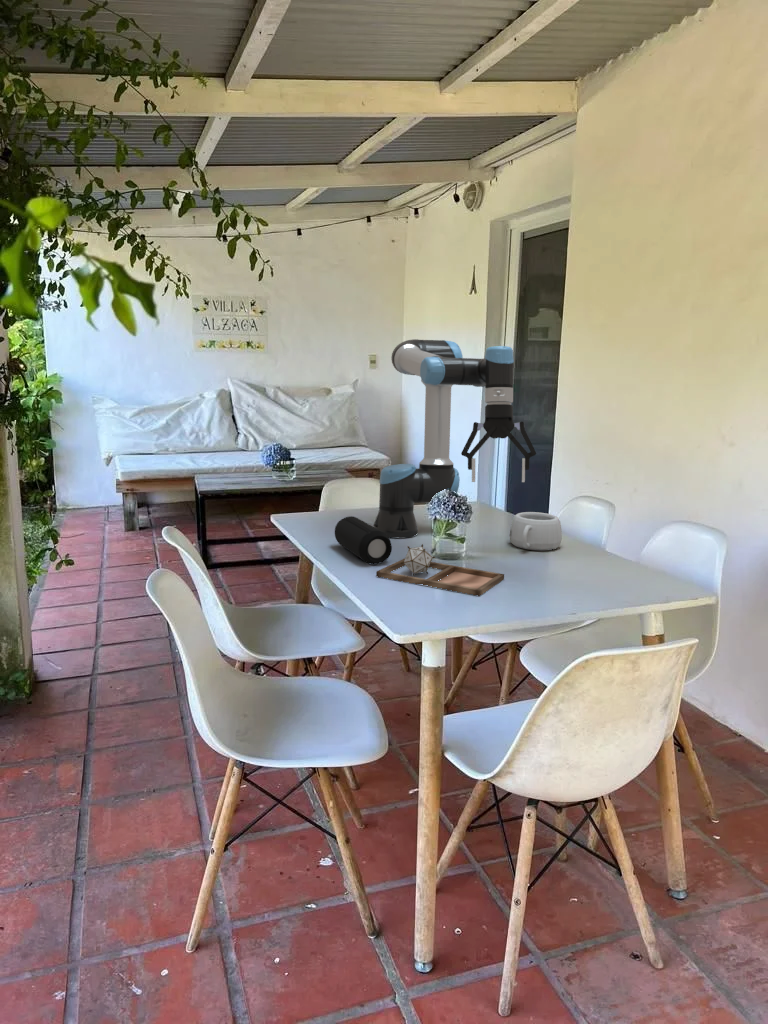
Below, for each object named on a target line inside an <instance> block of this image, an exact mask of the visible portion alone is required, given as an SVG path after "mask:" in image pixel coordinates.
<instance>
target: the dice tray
mask: <svg viewBox="0 0 768 1024" xmlns="http://www.w3.org/2000/svg"><path fill="white" fill-rule="evenodd" d="M404 559H405V557H404V558H402V559H400V560H398V561H395V562H394V563H391V564H390V565H387V566H386V567H382V568H381V569H379V570H376V573H375V577H376V576H378V577H377V578H380V577H384V578H383V579H385V578H388V579H387V580H391V579H393V580H392V581H396V580H398V581H397V582H401V581H403V582H402V583H406V582H409V583H408V584H412V583H415V584H414V585H417V584H423V585H428V586H432V587H431V588H433V587H437V588H436V589H438V588H442V589H441V590H443V589H447V590H446V591H449V590H452V591H451V592H454V591H457V592H456V593H459V592H462V593H461V594H465V593H467V594H466V595H470V594H473V595H472V596H475V595H478V596H477V597H481V596H483V595H484V594H486V593H487V592H488V591H490V590H491V589H492V588H494V587H495V586H497V585H499V584H500V583H501V582H502V581H504V580H505V574H504V573H499V572H494V571H487V570H482V569H476V568H470V567H465V566H464V567H463V566H459V565H452V564H447V563H446V564H445V563H441V562H435V561H431V563H430V565H429V567H432V568H431V569H434V568H437V569H436V570H439V569H441V571H440V570H439V571H438V572H436V573H435V574H433V575H431V576H429V577H428V578H421V577H415V576H411V575H410V576H409V575H406V574H400V573H394V571H393V570H395V571H397V570H398V568H399V569H401V568H403V567H405V566H406V565H405V564H404V563H403V564H401V562H403V561H404ZM404 565H405V566H404ZM402 566H403V567H402ZM400 567H401V568H400ZM396 569H397V570H396ZM391 571H393V572H391ZM447 575H448V576H447ZM440 579H441V580H440ZM438 580H439V581H438ZM428 586H427V587H428ZM489 589H490V590H489ZM486 591H487V592H486ZM483 593H484V594H483ZM480 595H481V596H480Z"/></svg>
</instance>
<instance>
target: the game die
mask: <svg viewBox="0 0 768 1024" xmlns="http://www.w3.org/2000/svg"><path fill="white" fill-rule="evenodd" d="M407 550H408V551H407V553H406V555H405V557H404V558H405V559H404V558H403V559H404V561H403V562H401V564H403V563H404V564H405V567H406V568H407V569H408V570H409V571H410V572H411V573H412V577H415V575H417V574H421V573H422V574H423V573H426V575H428V574H429V572H428V569H429V565H430V563H431V562H433V559H436V556H432V555H431V554H430V553H429V552H428V551H427V550H426V548H424V543H422V544H421V546H416V547H410V546H408V545H407Z"/></svg>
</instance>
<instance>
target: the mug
mask: <svg viewBox="0 0 768 1024" xmlns="http://www.w3.org/2000/svg"><path fill="white" fill-rule="evenodd" d="M510 525H511V526H510V530H509V541H510V543H511V544H512V545H513V546H514V547H516V548H520V549H524V550H531V551H552V549H553V550H556V549H557V548H559V547H560V546H561V544H562V539H563V538H562V537H563V533H562V524H561V520H560V518H559V517H558V516H556V515H555V514H551V513H546V512H545V513H544V512H538V511H537V512H535V511H525V512H518V513H516V514H514V517H513V519H512V522H511V524H510Z"/></svg>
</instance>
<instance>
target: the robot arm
mask: <svg viewBox="0 0 768 1024" xmlns="http://www.w3.org/2000/svg"><path fill="white" fill-rule="evenodd" d="M514 362H515V360H514V350H513V348H512V347H511V346H506V345H497V346H496V345H495V346H493V345H492V346H489V347H487V348H486V350H485V355H484V358H472V357H471V358H469V357H463V353H462V350H461V347H460V346H459V344H458V343H457V342H455V341H451V340H445V339H444V340H443V339H441V340H438V339H435V340H434V339H418V338H417V339H408V340H405V341H402V342H400V343H398V344H397V345H396V346H395V347H394V349H393V351H392V352H391V363H392V366H393V368H394V369H395V370H396V371H397V372H398V373H401V374H404V375H406V376H407V375H409V376H417V377H419V378H420V379H421V380H420V381H421V383H422V384H423V385H424V387H425V394H424V395H425V400H424V402H425V403H424V442H423V445H424V447H423V459H421V460H420V462H419V463H418V464H419V465H418V468H417V467H416V465H415V464H413V463H399V464H391V465H387V466H385V467H383V468H382V469H381V471H380V476H379V477H380V478H379V482H378V483H379V502H378V503H379V506H378V509H379V510H378V513H377V516H376V518H375V522H374V524H373V527H374V528H376V529H378V530H380V531H382V532H383V533H385V534H386V535H387V536H388V537H410V538H412V537H411V536H414V535H416V534H417V533H418V532H419V526H418V523H417V520H416V516H415V512H414V510H415V509H414V506H415V504H417V503H418V504H419V503H420V504H421V503H422V504H424V503H429V502H430V501H431V499H432V497H433V496H434V495H435V494H436V493H438V492H440V491H442V490H444V489H447V488H450V489H452V490H453V491H455V492H456V493H457V494H458V492H459V488H460V473H459V470H458V469H457V468H455V467H454V462H453V461H452V460H451V459H450V444H451V442H450V441H451V439H450V437H451V411H452V409H451V408H452V407H451V406H452V405H451V404H452V387H453V386H473V387H476V388H477V387H481V388H484V390H485V391H484V402H485V404H486V405H485V406H484V410H485V411H484V421H483V423H481V422H476V421H475V422H473V425H472V431H471V433H470V435H469V436H468V439H467V441H466V443H465V445H464V447H463V449H462V450H461V453H460V454H461V456H463V457H466V459H467V470H469V471H471V483H475V482H476V458H475V457H474V456H475V455H476V453H478V451H479V450H480V449H481V448H482V446H483V445H484V444H486V442H487V441H488V440H489V439H506V438H509V440H510V441H511V443H513V444H514V446H515V447H516V448H517V449H518V451H519V452H520V453H521V454H522V456H524V457H522V460H521V462H522V463H521V466H522V467H521V483H526V482H525V481H526V471H527V470H530V458H532V457H534V456H536V455H537V451H536V449H535V447H534V446H533V443H532V441H531V439H530V438H529V435H528V434H527V432H526V430H525V429H526V428H525V422H524V421H519V422H514V420H513V419H514V405H513V404H512V403H513V402H514ZM482 428H483V429H484V430H485V432H486V433H485V434H484V435H483V437H481V439H480V440H479V441H478V443H476V444H475V446H474V447H473V448H472V449H471V451H470V452H469V450H470V448H471V446H472V444H473V443H474V439H475V437H476V436H477V433H478V431H481V429H482ZM514 428H516V429H517V431H520V433H521V436H522V437H523V440H524V441H525V443H526V446H527V447H528V449H529V452H528V451H527V450H526V449H525V448H524V447H523V445H521V442H519V441H518V440H517V438H516V437H515V436H514V435H513V434H512V431H513V430H514ZM418 534H419V533H418ZM418 534H417V535H418ZM417 535H416V536H417ZM414 537H415V536H414Z"/></svg>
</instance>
